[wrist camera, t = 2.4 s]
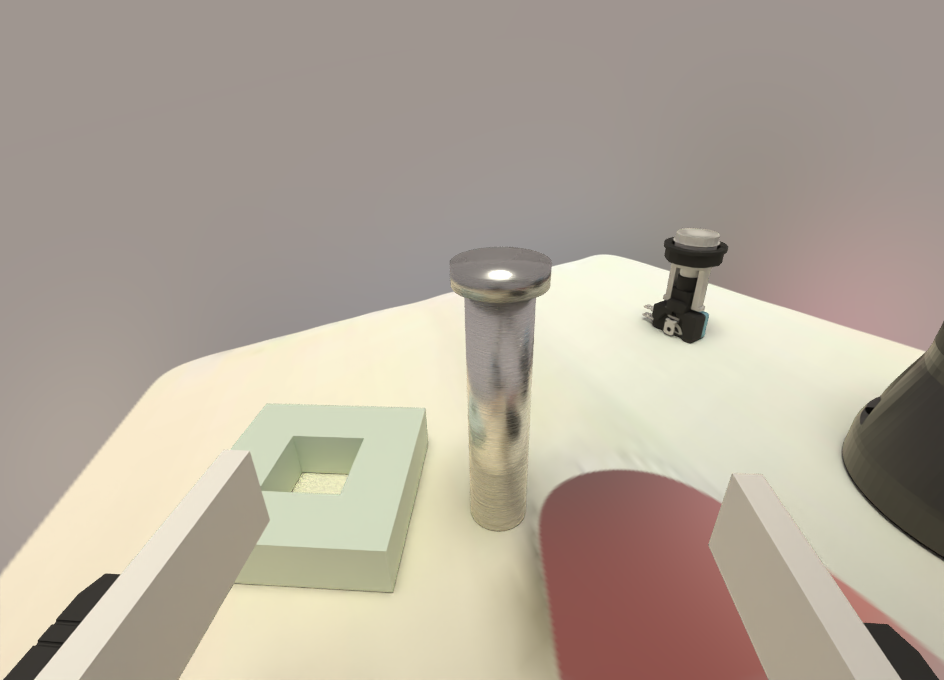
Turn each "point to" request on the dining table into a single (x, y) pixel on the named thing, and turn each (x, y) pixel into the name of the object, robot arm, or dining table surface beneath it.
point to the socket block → (334, 515)
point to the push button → (687, 283)
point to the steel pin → (499, 373)
